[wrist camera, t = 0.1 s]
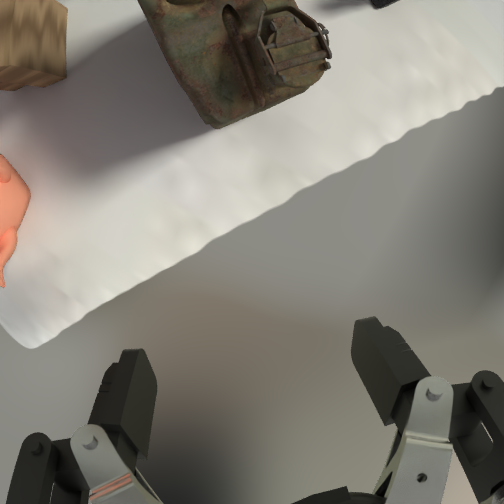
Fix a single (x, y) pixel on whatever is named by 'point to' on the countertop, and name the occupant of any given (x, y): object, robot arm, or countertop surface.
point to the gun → (383, 3)
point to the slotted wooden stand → (32, 43)
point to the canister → (238, 53)
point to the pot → (10, 210)
